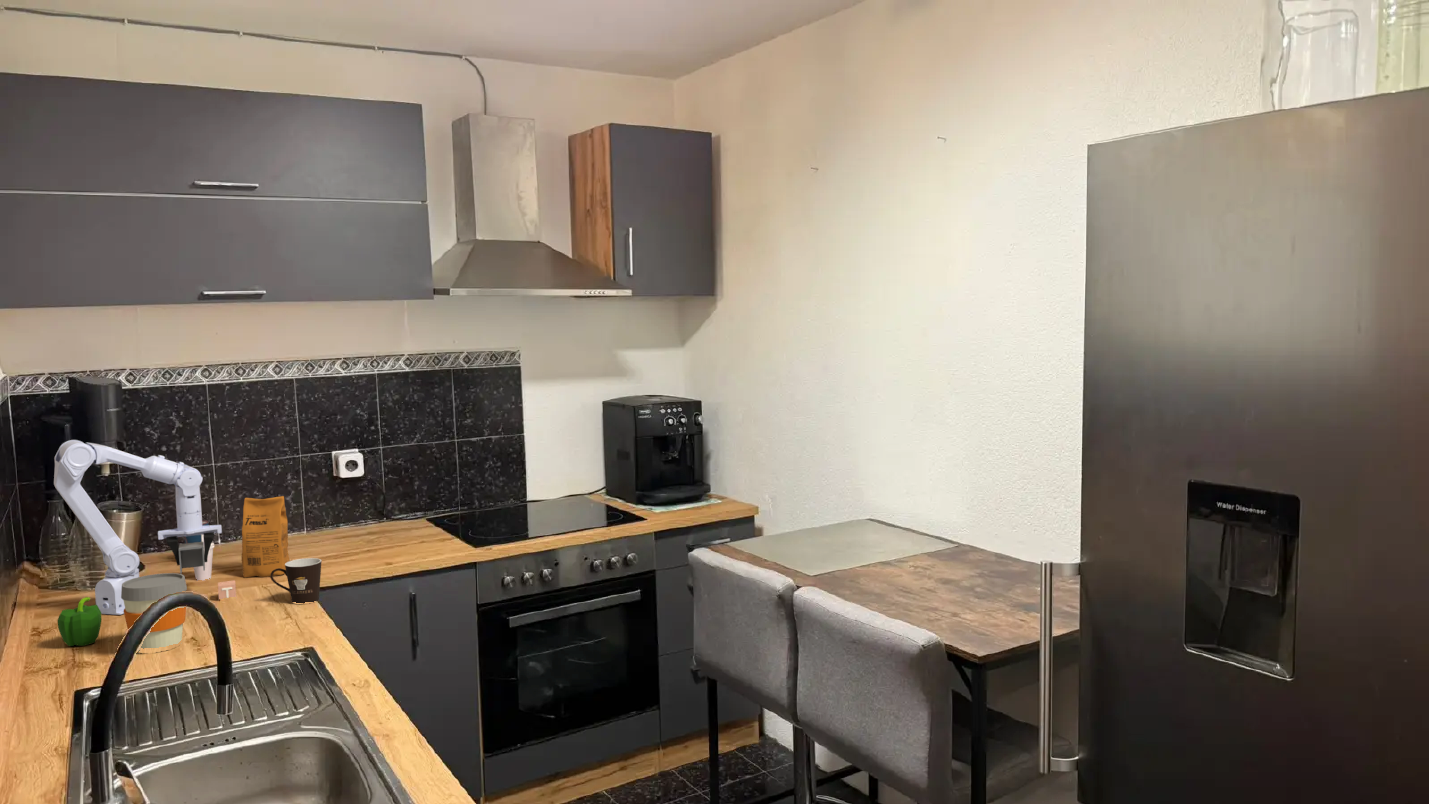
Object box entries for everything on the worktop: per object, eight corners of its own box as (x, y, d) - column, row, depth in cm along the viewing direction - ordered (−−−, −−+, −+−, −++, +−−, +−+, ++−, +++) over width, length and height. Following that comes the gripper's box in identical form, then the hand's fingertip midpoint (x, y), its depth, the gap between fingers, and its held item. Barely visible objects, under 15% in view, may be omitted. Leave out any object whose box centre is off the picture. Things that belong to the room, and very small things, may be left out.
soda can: (189, 560, 286) (186, 521, 285) (214, 558, 289) (212, 519, 287) (184, 566, 280) (181, 525, 279) (210, 563, 282) (207, 524, 281)
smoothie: (205, 582, 262) (201, 532, 260) (185, 581, 263) (181, 531, 262) (221, 576, 268) (218, 527, 267) (201, 575, 269) (198, 526, 268)
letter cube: (236, 599, 246) (235, 584, 245) (219, 601, 244) (218, 586, 243) (235, 595, 249) (234, 580, 249) (218, 597, 247) (217, 582, 247)
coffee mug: (330, 596, 246) (328, 559, 245) (308, 606, 238) (306, 567, 237) (293, 594, 249) (290, 556, 248) (269, 603, 241) (267, 565, 240)
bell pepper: (72, 652, 208) (69, 607, 207) (52, 646, 212) (49, 602, 211) (112, 640, 215) (109, 597, 214) (92, 635, 219) (89, 592, 218)
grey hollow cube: (204, 570, 248) (203, 546, 247) (180, 573, 245) (178, 548, 245) (205, 565, 253) (203, 541, 252) (181, 568, 250) (179, 544, 250)
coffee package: (250, 569, 275) (245, 494, 273) (295, 567, 276) (290, 493, 274) (236, 579, 265) (232, 501, 263) (283, 577, 266) (278, 499, 264)
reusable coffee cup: (111, 656, 205) (106, 588, 204) (153, 636, 217) (148, 572, 216) (164, 657, 203) (159, 589, 202) (203, 638, 216) (198, 573, 214)
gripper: (156, 517, 241) (159, 570, 242) (220, 511, 248) (223, 562, 249) (157, 512, 247) (161, 564, 248) (220, 507, 254) (223, 556, 255)
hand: (192, 563), depth 249 cm, fingers closed on grey hollow cube, 6 cm apart
